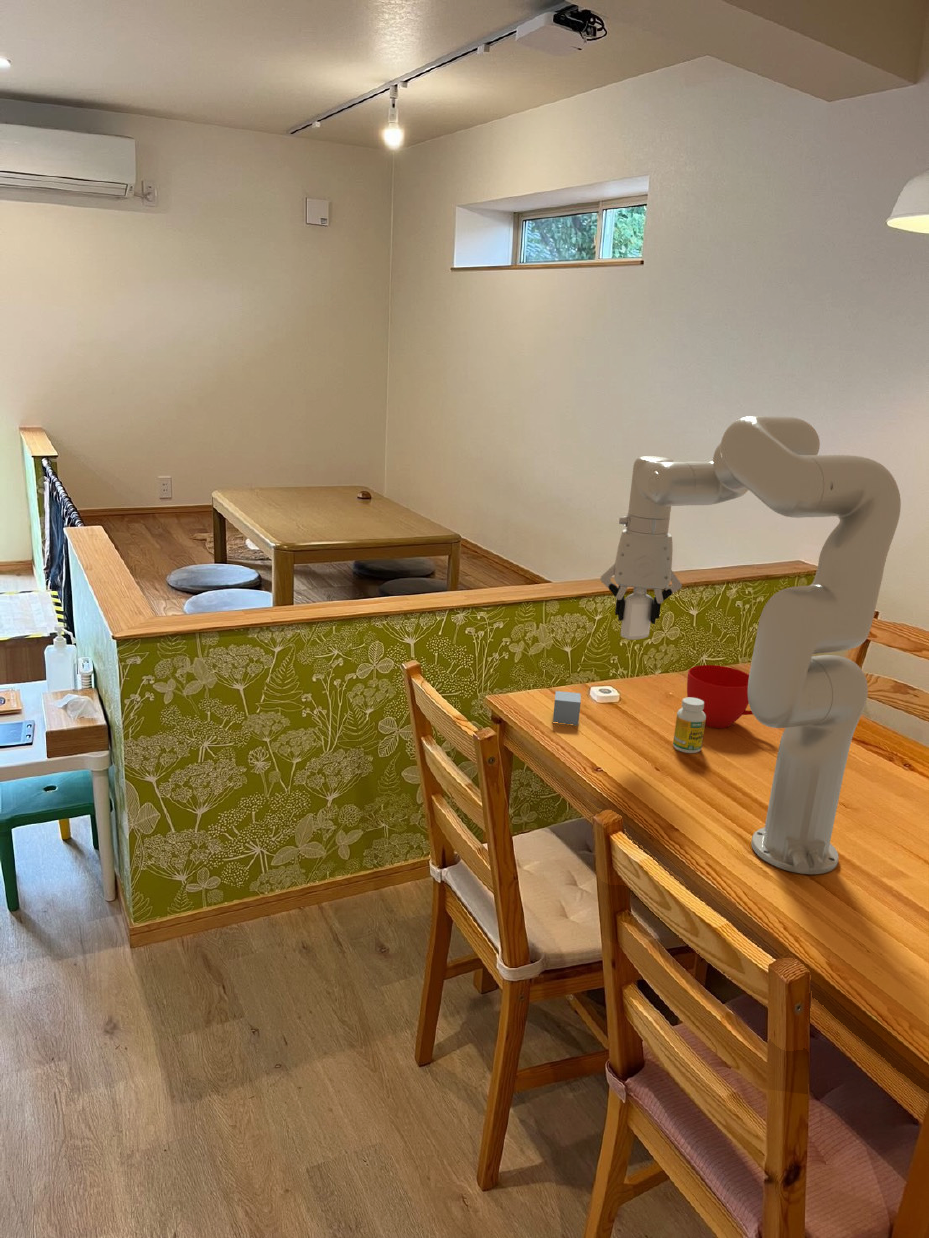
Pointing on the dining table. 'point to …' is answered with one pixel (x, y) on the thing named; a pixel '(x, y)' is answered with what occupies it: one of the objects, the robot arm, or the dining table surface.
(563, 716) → the slate block
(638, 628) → the eye dropper bottle
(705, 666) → the ceramic cup
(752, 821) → the dining table surface
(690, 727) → the supplement bottle
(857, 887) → the dining table surface
